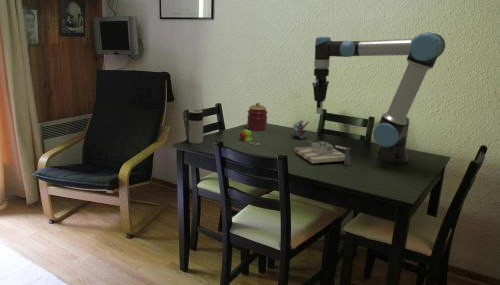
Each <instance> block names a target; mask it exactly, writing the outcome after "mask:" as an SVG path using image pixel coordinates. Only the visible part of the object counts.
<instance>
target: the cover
mask: <svg viewBox="0 0 500 285" xmlns="http://www.w3.org/2000/svg"><path fill="white" fill-rule="evenodd" d="M333 149H335V148H334V145H333V144H330V143H329V142H327V141H323V140H322V141H321V140H319V141H318V142H313V143H312V151H313V152H315V153H317V154H318V155H324V154H333Z"/></svg>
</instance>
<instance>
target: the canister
mask: <svg viewBox="0 0 500 285" xmlns="http://www.w3.org/2000/svg"><path fill="white" fill-rule="evenodd" d="M247 113H248V114H247V124H246V128H247V129H249V130H250V131H251V130H253V131H252V132H265V131H266V130H267V127H268V125H267V124H268V111H267V107H266V106H264V105H262V104H261V105H260V102H256V103H255V104H253V105H251V106H249V107H248V110H247ZM264 130H265V131H264Z"/></svg>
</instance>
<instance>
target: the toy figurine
mask: <svg viewBox="0 0 500 285" xmlns="http://www.w3.org/2000/svg"><path fill="white" fill-rule="evenodd" d="M304 122H305V121H304V120H302V119H300V120H299V121H297V122H296V123H294V124H293V126H291V127H290V128H291V129H292V131H293V132H292V133H293V135H295V136H296V137H297V138H299V139H300V140H302V139H304V138H305V137H306V134H307V132H308V130H307V129H305V128H306V127H307V125H308V124H309V123H310V121H309V120H308V121H307V122H305V123H304ZM303 123H304V124H303ZM304 129H305V130H304Z"/></svg>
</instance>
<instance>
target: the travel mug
mask: <svg viewBox="0 0 500 285" xmlns="http://www.w3.org/2000/svg"><path fill="white" fill-rule="evenodd" d="M203 112H204V111H203V110H201V109H190V110H188V113H189V115H188V143H190V144H201V143H203V142H204V116H203Z"/></svg>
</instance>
